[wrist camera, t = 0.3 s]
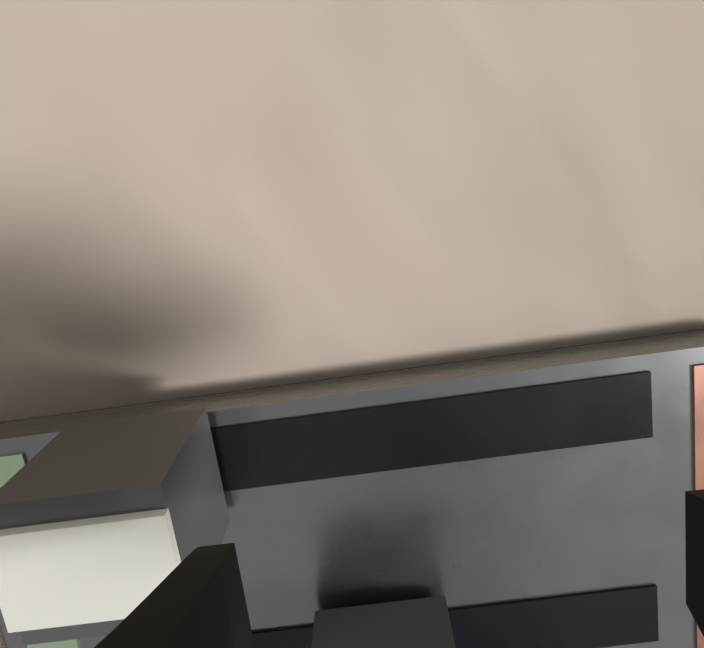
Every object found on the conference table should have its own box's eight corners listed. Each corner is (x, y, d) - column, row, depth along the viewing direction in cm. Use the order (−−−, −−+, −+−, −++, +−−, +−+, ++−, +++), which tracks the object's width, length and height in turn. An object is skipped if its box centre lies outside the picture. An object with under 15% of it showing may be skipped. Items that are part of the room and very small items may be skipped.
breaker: (231, 520, 19) (192, 634, 15) (95, 537, 19) (15, 655, 15) (207, 407, 18) (158, 490, 14) (65, 425, 18) (-30, 514, 14)
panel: (740, 791, 24) (767, 835, 22) (105, 858, 25) (89, 905, 23) (744, 324, 19) (778, 338, 18) (-29, 426, 20) (-60, 448, 19)
